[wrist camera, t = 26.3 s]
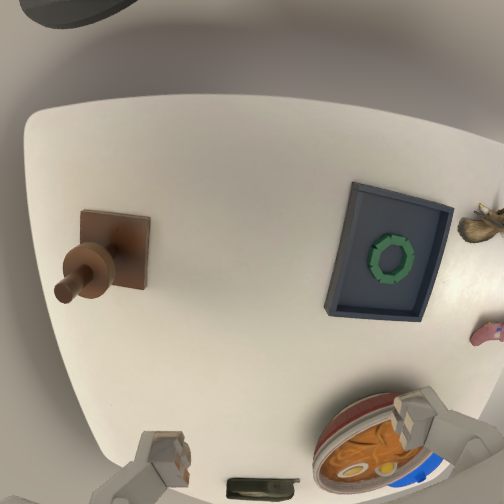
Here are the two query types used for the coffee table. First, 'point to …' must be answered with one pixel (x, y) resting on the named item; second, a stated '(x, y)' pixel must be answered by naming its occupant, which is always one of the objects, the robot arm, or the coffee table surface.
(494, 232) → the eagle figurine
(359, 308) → the tray
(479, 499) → the robot arm
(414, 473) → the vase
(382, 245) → the ring
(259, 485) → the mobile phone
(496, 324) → the video game controller
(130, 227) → the peg stand
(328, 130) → the coffee table surface
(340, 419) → the bowl
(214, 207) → the coffee table surface
